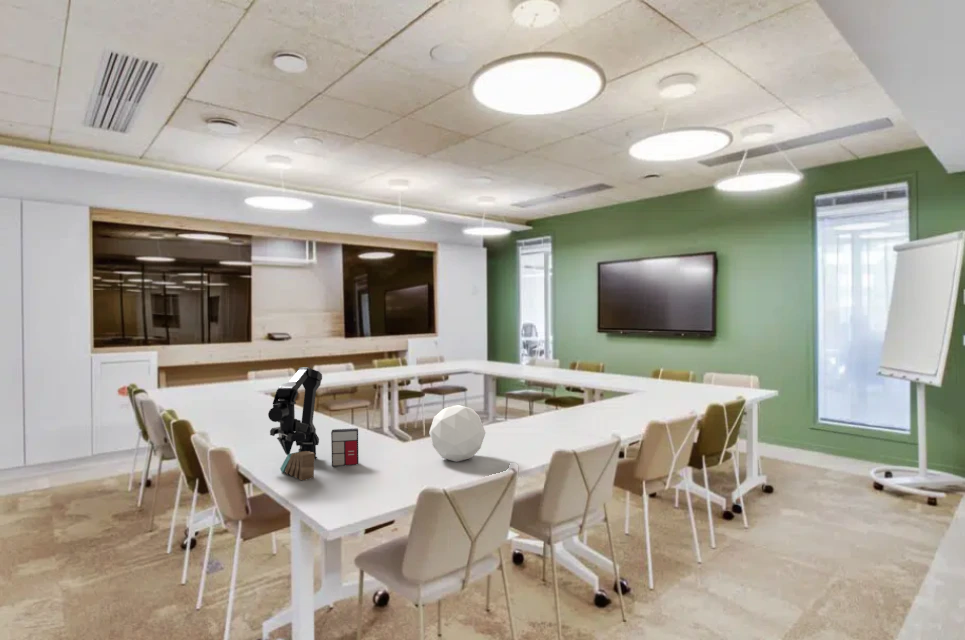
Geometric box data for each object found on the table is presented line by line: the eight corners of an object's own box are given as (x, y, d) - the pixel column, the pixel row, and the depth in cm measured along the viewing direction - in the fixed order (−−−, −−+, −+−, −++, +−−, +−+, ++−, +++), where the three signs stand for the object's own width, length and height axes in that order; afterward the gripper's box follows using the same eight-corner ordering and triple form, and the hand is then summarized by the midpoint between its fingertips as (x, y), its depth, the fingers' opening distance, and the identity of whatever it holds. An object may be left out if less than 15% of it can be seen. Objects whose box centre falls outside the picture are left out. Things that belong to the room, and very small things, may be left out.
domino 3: (289, 473, 212) (295, 453, 208) (300, 470, 215) (306, 451, 212) (291, 476, 210) (297, 456, 207) (303, 473, 214) (308, 454, 211)
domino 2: (284, 471, 214) (291, 453, 210) (296, 468, 218) (303, 451, 214) (286, 474, 213) (293, 457, 209) (298, 471, 217) (305, 454, 213)
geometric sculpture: (463, 482, 228) (460, 445, 212) (421, 454, 240) (415, 417, 224) (496, 446, 242) (495, 409, 226) (454, 421, 254) (451, 385, 239)
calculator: (331, 467, 223) (331, 431, 223) (332, 464, 227) (331, 429, 227) (358, 465, 225) (357, 430, 225) (358, 462, 230) (358, 428, 229)
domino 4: (294, 476, 209) (297, 453, 207) (305, 473, 213) (309, 451, 211) (296, 478, 208) (300, 456, 206) (308, 475, 212) (311, 453, 209)
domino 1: (280, 468, 217) (288, 454, 212) (291, 466, 220) (299, 451, 216) (281, 472, 216) (290, 458, 211) (293, 470, 219) (301, 455, 215)
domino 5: (299, 479, 206) (300, 454, 206) (310, 476, 210) (312, 451, 209) (301, 480, 205) (302, 455, 204) (313, 477, 209) (314, 453, 208)
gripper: (317, 416, 217) (317, 454, 217) (294, 411, 229) (294, 446, 230) (291, 421, 208) (292, 460, 209) (269, 415, 221) (269, 452, 221)
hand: (287, 454), depth 217 cm, fingers closed
